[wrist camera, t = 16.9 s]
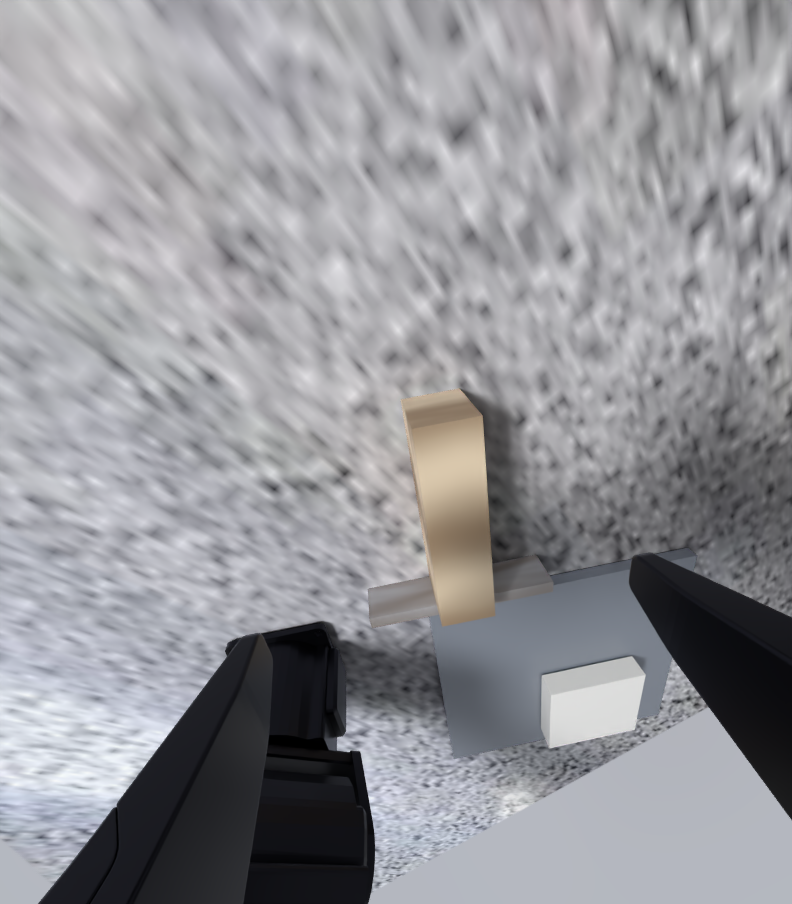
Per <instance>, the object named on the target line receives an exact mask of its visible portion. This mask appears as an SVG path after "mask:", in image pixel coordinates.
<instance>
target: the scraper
mask: <svg viewBox="0 0 792 904" xmlns="http://www.w3.org/2000/svg"><path fill="white" fill-rule="evenodd" d="M401 404H402V410H403V416H404V422H405V428H406V434H407V440H408V447H409V453H410V459H411V465H412V471H413V477H414V484H415V490H416V496H417V502H418V508H419V514H420V520H421V527H422V533H423V539H424V545H425V551H426V557H427V564H428V570H429V576H428V577H423V578H419V579H414V580H409V581H404V582H399V583H394V584H389V585H384V586H380V587H375V588H370V589H368V600H369V618H370V622H371V626H372V628H376V627H381V626H386V625H391V624H395V623H400V622H405V621H410V620H415V619H420V618H425V617H430V616H435V615H439V616H440V620H441V624H442V627H444V626H448V625H453V624H458V623H463V622H468V621H473V620H478V619H483V618H488V617H493V616H495V603H499V602H504V601H509V600H514V599H519V598H524V597H529V596H534V595H539V594H544V593H549V592H553V580H552V579H551V577H550V576H549V574H548V573H547V571H546V569H545V568H544V566H543V565H542V563H541V561H540V560H539V558H538V557H537V555H531V556H526V557H521V558H516V559H511V560H507V561H502V562H497V563H492V554H491V538H490V523H489V507H488V492H487V476H486V461H485V445H484V430H483V415H482V414H481V413H480V412H479V411H478V410H477V408H476V407H475V406H474V405H473V404H472V403H471V401H470V400H469V399H468V398H467V397H466V396H465V394H464V393H463V392H462V391H461V390H460V389H454V390H448V391H443V392H438V393H433V394H427V395H422V396H417V397H412V398H407V399H401Z"/></svg>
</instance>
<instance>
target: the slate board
mask: <svg viewBox="0 0 792 904" xmlns="http://www.w3.org/2000/svg"><path fill="white" fill-rule="evenodd" d="M656 555H658V556H660V557H662V558H664V559H667V560H669V561H671V562H673V563H675V564H677V565H679V566H682V567H684V568H686V569H688V570H690V571H692V572H693V571H694V567H695V563H696V559H697V555H696V554H695V553H694V552H693V551H691V550H690V549H689V548H683V549H678V550H674V551H669V552H664V553H659V554H656ZM631 560H632V559H630V560H625V561H620V562H615V563H610V564H606V565H601V566H596V567H591V568H586V569H581V570H576V571H571V572H567V573H562V574H557V575H552V576H550V577H551V579H552V580H553V592H549V593H544V594H539V595H534V596H529V597H524V598H519V599H514V600H509V601H504V602H499V603H495V616H493V617H488V618H483V619H478V620H473V621H468V622H463V623H458V624H453V625H448V626H444V627H442V624H441V620H440V616H439V615H435V616H430V617H429V620H430V626H431V631H432V637H433V643H434V649H435V655H436V660H437V666H438V672H439V678H440V684H441V689H442V695H443V701H444V707H445V713H446V718H447V724H448V730H449V736H450V742H451V747H452V752H453V757H454V759H456V758H461V757H466V756H470V755H475V754H479V753H484V752H489V751H493V750H498V749H502V748H507V747H511V746H516V745H521V744H525V743H530V742H534V741H539V740H544V739H545V737H544V735H543V732H542V730H541V687H542V675H546V674H551V673H555V672H560V671H565V670H569V669H574V668H579V667H583V666H588V665H593V664H597V663H602V662H607V661H611V660H616V659H621V658H625V657H630V656H632V657H633V658H634V659H635V661H636V662H637V664H638V665H639V666H640V668H641V669H642V670H643V672H644V673H645V675H646V676H645V681H644V686H643V691H642V696H641V700H640V705H639V710H638V715H637V719H640V718H644V717H649V716H654V715H658V713H659V709H660V705H661V701H662V697H663V693H664V688H665V684H666V680H667V676H668V672H669V668H670V664H671V660H672V656H671V655H670V653H669V652H668V650H667V649H666V647H665V646H664V644H663V642H662V641H661V639H660V638H659V636H658V634H657V633H656V631H655V629H654V628H653V626H652V624H651V623H650V621H649V619H648V617H647V616H646V614H645V612H644V611H643V609H642V607H641V606H640V604H639V602H638V601H637V599H636V597H635V596H634V594H633V592H632V591H631V588H630V586H629V574H630V567H631Z"/></svg>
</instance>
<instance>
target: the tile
mask: <svg viewBox="0 0 792 904" xmlns="http://www.w3.org/2000/svg"><path fill="white" fill-rule="evenodd" d="M645 676H646V675H645V673H644V672H643V670H642V669H641V668H640V666H639V665H638V664H637V662H636V661H635V659H634V658H633V657H632V656H630V657H625V658H621V659H616V660H611V661H607V662H602V663H597V664H593V665H588V666H583V667H579V668H574V669H569V670H565V671H560V672H555V673H551V674H546V675H542V687H541V730H542V732H543V735H544V737H545V739H546V742H547V744H548V747H549V748H554V747H558V746H563V745H567V744H572V743H576V742H581V741H586V740H590V739H595V738H599V737H604V736H608V735H613V734H617V733H622V732H627V731H631V730H635V725H636V720H637V715H638V710H639V705H640V700H641V696H642V691H643V686H644V681H645Z"/></svg>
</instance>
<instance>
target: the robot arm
mask: <svg viewBox="0 0 792 904" xmlns="http://www.w3.org/2000/svg"><path fill="white" fill-rule="evenodd" d="M629 586H630V588H631V591H632V592H633V594H634V596H635V597H636V599H637V601H638V602H639V604H640V606H641V607H642V609H643V611H644V612H645V614H646V616H647V617H648V619H649V621H650V623H651V624H652V626H653V628H654V629H655V631H656V633H657V634H658V636H659V638H660V639H661V641H662V642H663V644H664V646H665V647H666V649H667V650H668V652H669V653H670V655H671V656H672V657H673V659H674V660H675V662H676V663H677V664H678V666H679V667H680V669H681V670H682V671H683V673H684V674H685V675H686V677H687V678H688V679H689V681H690V682H691V683H692V685H693V686H694V688H695V689H696V690H697V692H698V693H699V694H700V696H701V697H702V698H703V700H704V701H705V703H706V704H707V705H708V707H709V708H710V709H711V711H712V712H713V713H714V715H715V716H716V717H717V719H718V720H719V722H720V723H721V724H722V726H723V727H724V728H725V730H726V731H727V733H728V734H729V735H730V737H731V738H732V739H733V741H734V742H735V743H736V745H737V746H738V748H739V749H740V750H741V751H742V753H743V754H744V755H745V757H746V758H747V760H748V761H749V763H750V764H751V765H752V767H753V768H754V769H755V771H756V772H757V773H758V775H759V776H760V778H761V779H762V780H763V782H764V783H765V784H766V786H767V787H768V788H769V790H770V791H771V793H772V794H773V795H774V797H775V798H776V799H777V801H778V802H779V803H780V805H781V806H782V808H784V810H785V812H786V813H787V814H788V815H789V817H790V818H791V819H792V617H790V616H787V615H785V614H783V613H781V612H779V611H777V610H774V609H772V608H770V607H768V606H766V605H764V604H762V603H759V602H757V601H755V600H753V599H751V598H749V597H746V596H744V595H742V594H740V593H738V592H736V591H733V590H731V589H729V588H727V587H725V586H723V585H720V584H718V583H716V582H714V581H712V580H710V579H708V578H705V577H703V576H701V575H699V574H697V573H695V572H692V571H690V570H688V569H686V568H684V567H682V566H679V565H677V564H675V563H673V562H671V561H669V560H667V559H664V558H662V557H660V556H658V555H656V554H653V553H644V554H640V555H635V556H634V557H633V558H632V560H631V567H630V574H629ZM225 652H226V655H227V657H226V659H225V660H224V661H223V663H222V664H221V665H220V667H219V668H218V669H217V671H216V672H215V673H214V675H213V676H212V677H211V679H210V680H209V681H208V683H207V684H206V685H205V687H204V688H203V689H202V691H201V692H200V693H199V695H198V696H197V697H196V699H195V700H194V701H193V703H192V704H191V705H190V707H189V708H188V709H187V711H186V712H185V713H184V715H183V716H182V717H181V719H180V720H179V721H178V723H177V724H176V725H175V727H174V728H173V729H172V731H171V732H170V733H169V735H168V736H167V737H166V739H165V740H164V741H163V743H162V744H161V745H160V747H159V748H158V749H157V751H156V752H155V753H154V755H153V756H152V757H151V759H150V760H149V761H148V763H147V764H146V765H145V767H144V768H143V769H142V771H141V772H140V773H139V775H138V776H137V777H136V779H135V780H134V781H133V783H132V784H131V785H130V787H129V788H128V789H127V790H126V792H125V793H124V794H123V796H122V797H121V798H120V800H119V801H118V803H117V807H115V808H113V809H112V810H111V812H110V813H109V814H108V816H107V817H106V818H105V820H104V821H103V822H102V824H101V825H100V826H99V828H98V829H97V830H96V832H95V833H94V834H93V835H92V837H91V838H90V839H89V841H88V842H87V843H86V844H85V846H84V847H83V848H82V850H81V851H80V852H79V853H78V855H77V856H76V857H75V859H74V860H73V861H72V863H71V864H70V865H69V866H68V868H67V869H66V870H65V871H64V873H63V874H62V875H61V876H60V877H59V879H58V880H57V881H56V882H55V884H54V885H53V886H52V887H51V888H50V890H49V891H48V892H47V893H46V895H45V896H44V897H43V898H42V899H41V901H40V902H39V903H38V904H368V902H369V898H370V894H371V889H372V883H373V876H374V864H375V837H374V828H373V821H372V815H371V810H370V804H369V798H368V793H367V787H366V781H365V776H364V770H363V764H362V759H361V753H360V751H350V752H342V751H337V737H341V736H343V735H344V734H345V732H346V670H345V667H344V664H343V661H342V658H341V655H340V652H339V650H338V649H337V648H336V647H335V648H333V645H332V642H331V639H330V637H329V634H328V631H327V628H326V626H325V625H324V624H321V623H317V624H312V625H307V626H302V627H297V628H293V629H288V630H283V631H278V632H273V633H268V634H263V635H262V634H260V633H255V634H251V635H246V636H243V637H242V638H241V639H239V640H234V641H231V642H229V643H228V644H227V647H226V650H225Z"/></svg>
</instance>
